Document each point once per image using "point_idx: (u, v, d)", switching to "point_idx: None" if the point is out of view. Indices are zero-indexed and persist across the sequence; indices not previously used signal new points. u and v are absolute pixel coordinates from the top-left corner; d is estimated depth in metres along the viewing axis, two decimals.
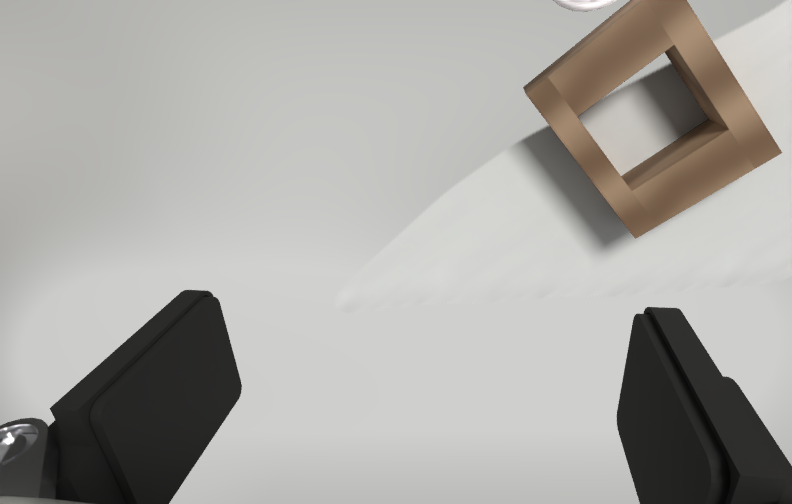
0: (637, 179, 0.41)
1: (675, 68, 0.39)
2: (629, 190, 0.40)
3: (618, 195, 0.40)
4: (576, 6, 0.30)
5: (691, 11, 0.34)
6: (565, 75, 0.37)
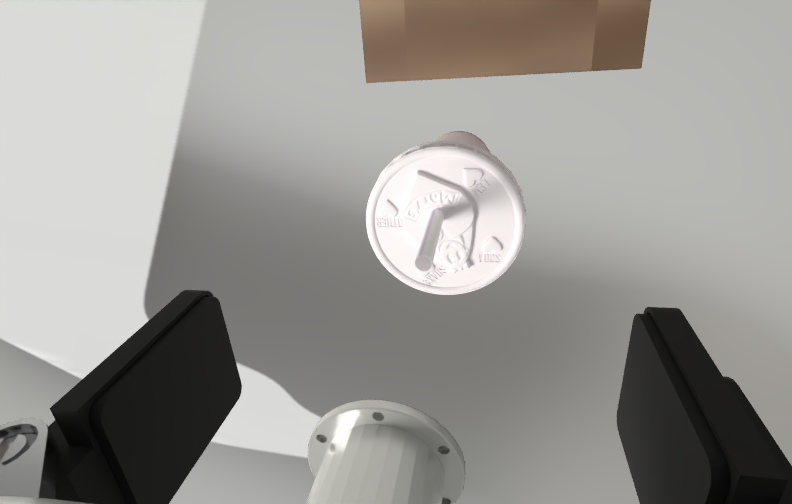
0: None
1: None
2: None
3: None
4: (505, 182, 0.18)
5: (362, 16, 0.21)
6: (566, 51, 0.20)
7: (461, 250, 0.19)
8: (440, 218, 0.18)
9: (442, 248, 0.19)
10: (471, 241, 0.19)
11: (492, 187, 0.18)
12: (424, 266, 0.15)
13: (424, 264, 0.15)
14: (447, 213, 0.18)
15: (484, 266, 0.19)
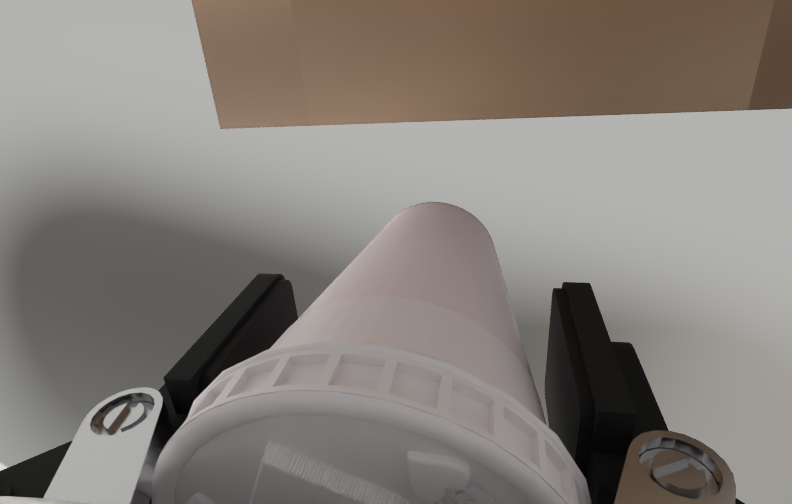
0: None
1: None
2: None
3: None
4: None
5: None
6: (688, 61, 0.08)
7: None
8: None
9: None
10: None
11: None
12: None
13: None
14: None
15: None
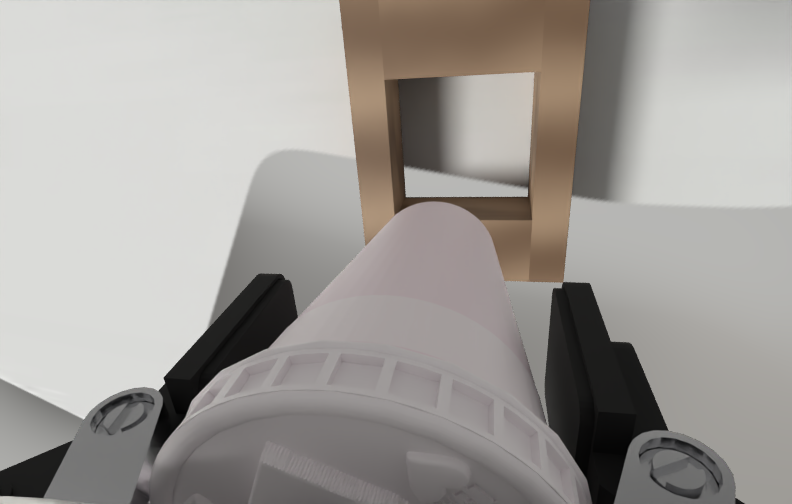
0: None
1: None
2: (543, 74, 0.24)
3: (561, 77, 0.24)
4: None
5: (366, 237, 0.30)
6: (510, 268, 0.29)
7: None
8: None
9: None
10: None
11: None
12: None
13: None
14: None
15: None
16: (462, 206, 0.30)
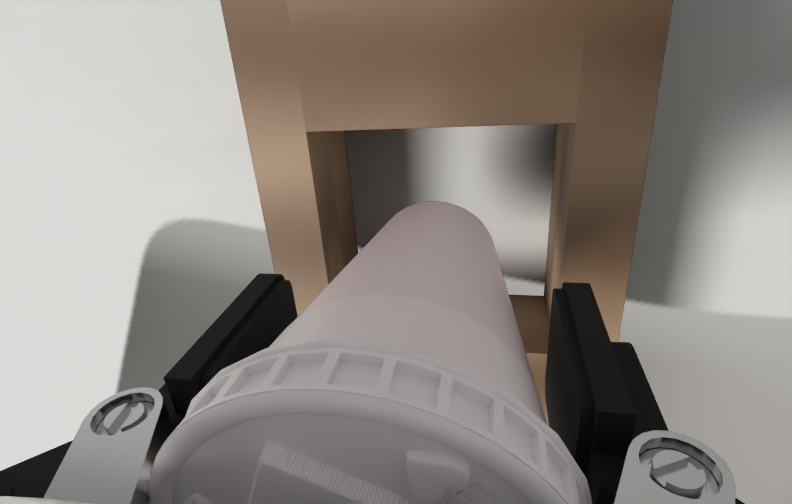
0: None
1: (355, 237, 0.21)
2: (579, 128, 0.13)
3: (613, 133, 0.13)
4: None
5: None
6: None
7: None
8: None
9: None
10: None
11: None
12: None
13: None
14: None
15: None
16: None
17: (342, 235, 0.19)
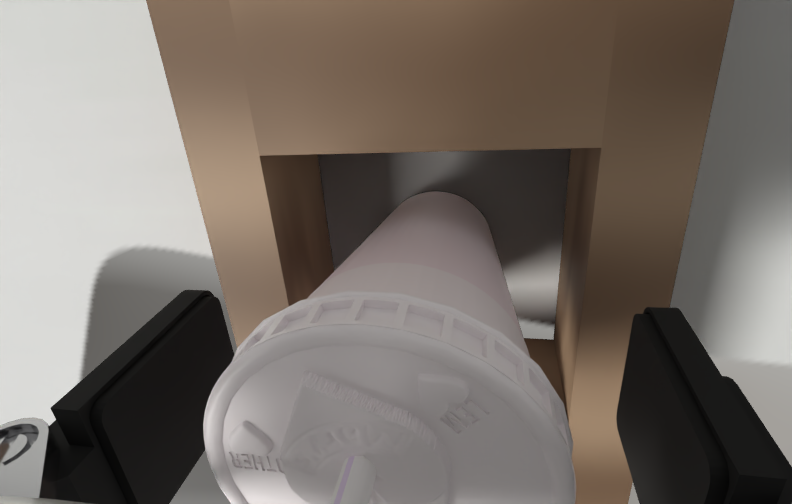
0: None
1: (333, 270, 0.18)
2: (605, 154, 0.10)
3: (649, 161, 0.10)
4: (528, 414, 0.07)
5: None
6: None
7: None
8: None
9: None
10: None
11: (492, 419, 0.07)
12: None
13: None
14: (383, 467, 0.07)
15: None
16: None
17: (314, 272, 0.16)
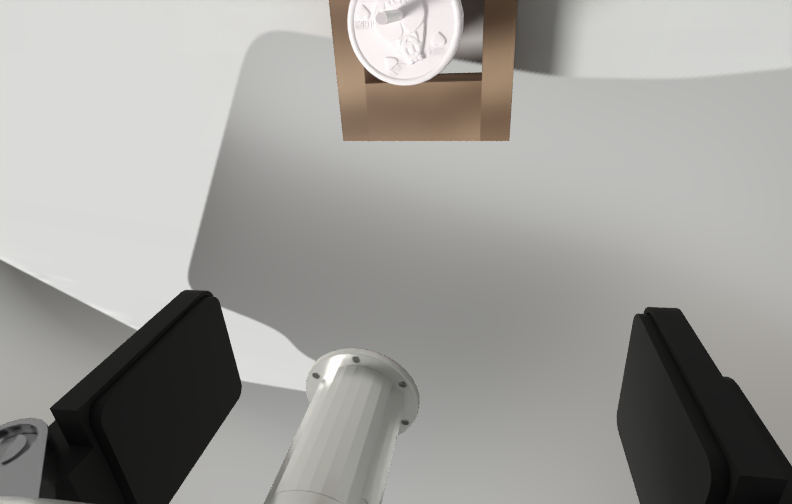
0: None
1: None
2: None
3: None
4: None
5: (340, 101, 0.34)
6: (464, 128, 0.33)
7: (416, 44, 0.26)
8: (399, 11, 0.25)
9: (402, 43, 0.26)
10: (423, 36, 0.26)
11: None
12: (381, 20, 0.22)
13: (382, 20, 0.22)
14: (405, 12, 0.25)
15: (433, 58, 0.26)
16: None
17: None
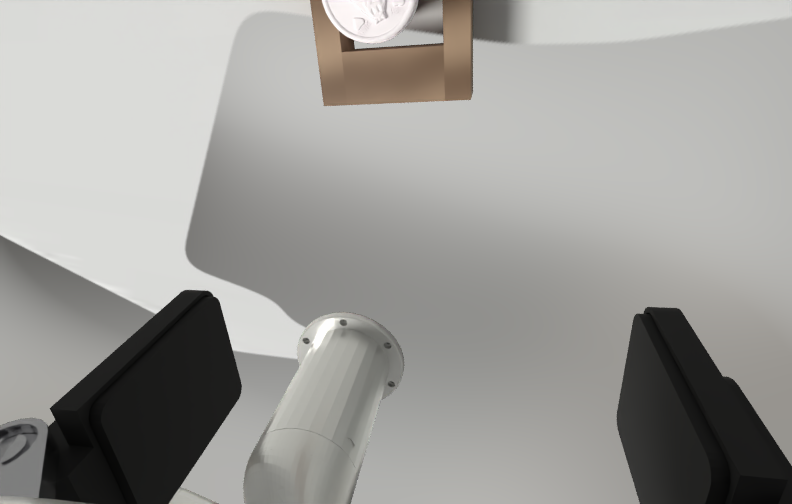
0: None
1: None
2: None
3: None
4: None
5: (320, 69, 0.38)
6: (430, 90, 0.37)
7: (379, 4, 0.30)
8: None
9: (367, 4, 0.30)
10: None
11: None
12: None
13: None
14: None
15: (395, 17, 0.30)
16: (396, 47, 0.39)
17: None
